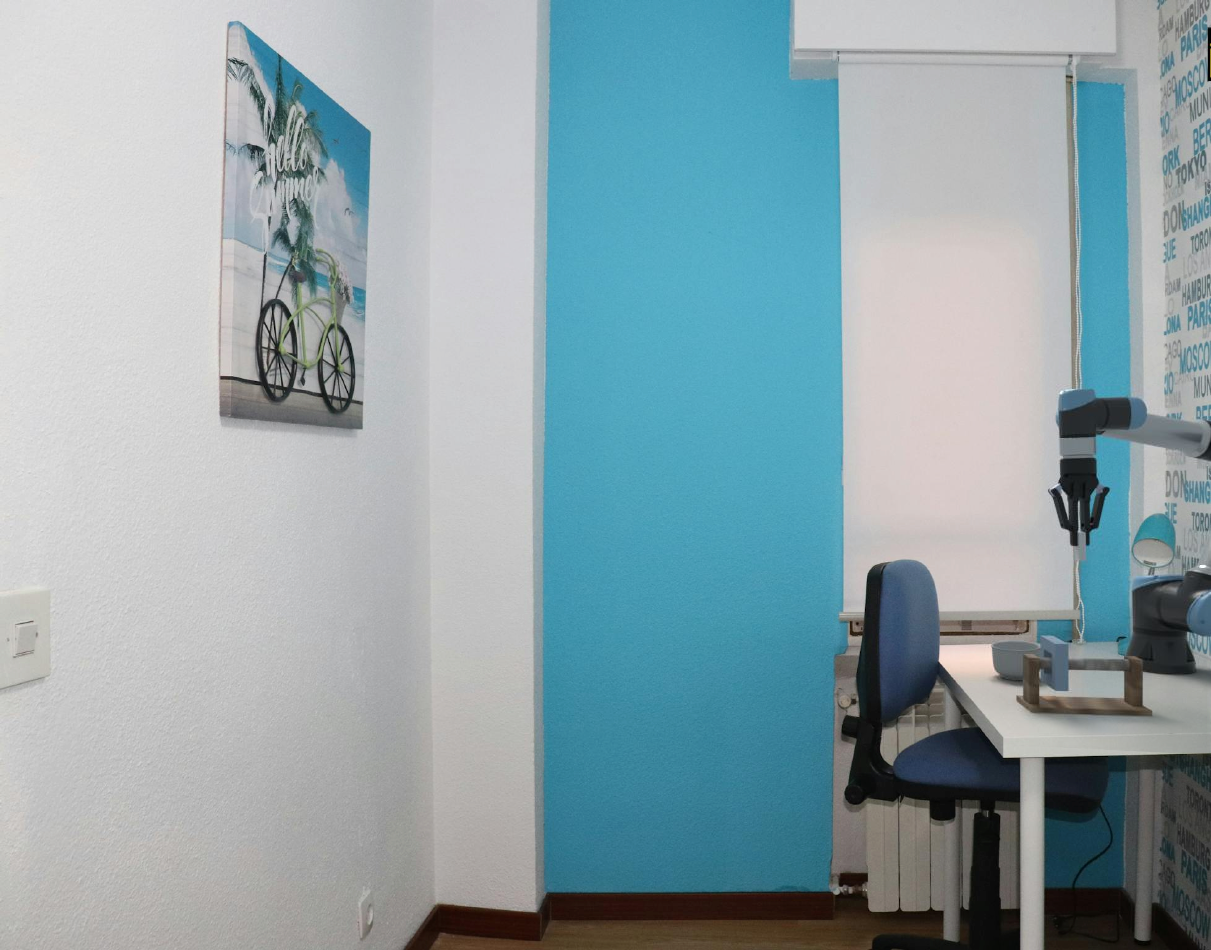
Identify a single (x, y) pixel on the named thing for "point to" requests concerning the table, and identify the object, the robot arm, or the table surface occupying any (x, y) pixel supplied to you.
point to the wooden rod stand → (1085, 705)
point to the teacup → (1012, 657)
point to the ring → (1055, 663)
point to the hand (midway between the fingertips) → (1080, 560)
